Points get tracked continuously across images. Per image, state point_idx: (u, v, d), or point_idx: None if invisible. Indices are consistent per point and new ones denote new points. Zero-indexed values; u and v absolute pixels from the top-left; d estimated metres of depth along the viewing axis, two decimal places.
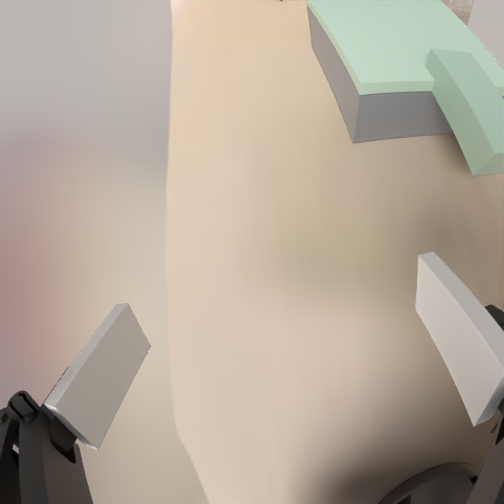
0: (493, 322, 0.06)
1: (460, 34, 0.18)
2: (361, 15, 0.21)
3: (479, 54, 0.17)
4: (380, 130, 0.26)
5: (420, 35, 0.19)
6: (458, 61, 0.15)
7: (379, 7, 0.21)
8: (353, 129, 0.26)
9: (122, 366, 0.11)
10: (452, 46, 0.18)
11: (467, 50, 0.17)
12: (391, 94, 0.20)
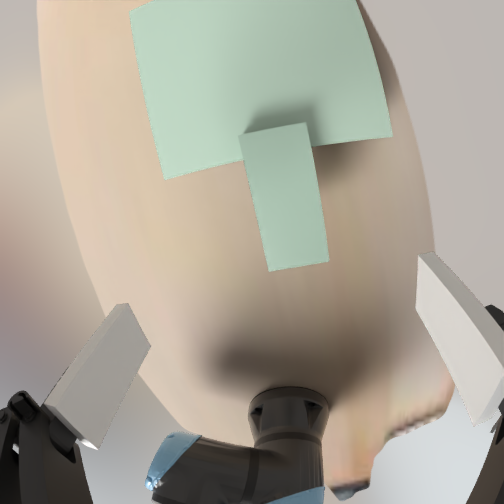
0: (493, 322, 0.06)
1: (336, 43, 0.18)
2: (185, 45, 0.19)
3: (352, 82, 0.19)
4: None
5: (258, 68, 0.19)
6: (272, 151, 0.20)
7: (216, 15, 0.18)
8: None
9: (122, 366, 0.11)
10: (305, 78, 0.19)
11: (330, 79, 0.19)
12: None
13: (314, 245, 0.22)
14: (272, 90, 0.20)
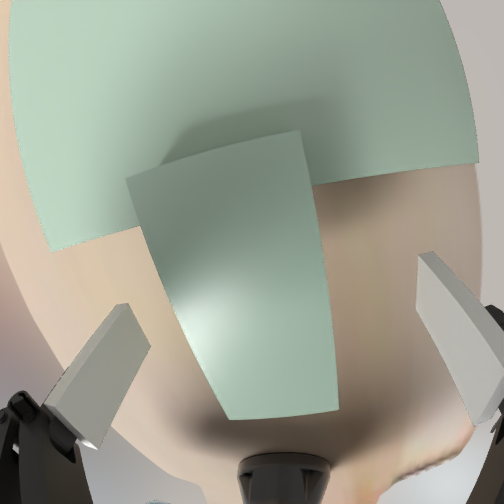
0: (493, 322, 0.06)
1: None
2: (67, 9, 0.07)
3: (401, 40, 0.07)
4: None
5: (189, 16, 0.07)
6: (210, 213, 0.08)
7: None
8: None
9: (122, 366, 0.11)
10: (296, 26, 0.07)
11: (355, 30, 0.07)
12: None
13: (312, 393, 0.10)
14: (220, 57, 0.08)
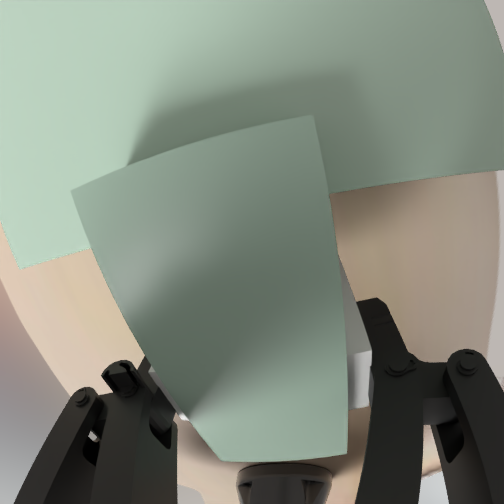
0: (358, 312, 0.08)
1: None
2: None
3: (434, 13, 0.04)
4: None
5: None
6: (181, 240, 0.05)
7: None
8: None
9: None
10: None
11: None
12: None
13: (318, 441, 0.08)
14: (202, 26, 0.06)
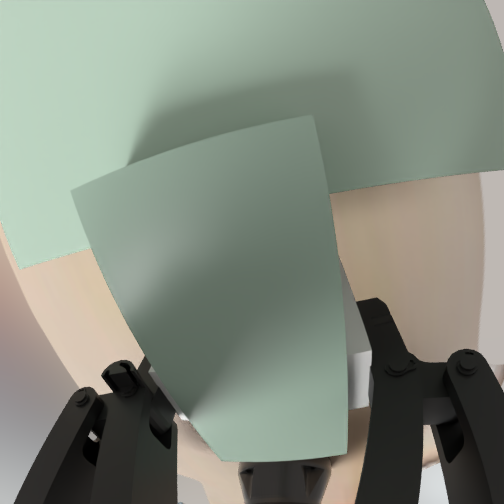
0: (358, 312, 0.08)
1: None
2: None
3: (434, 13, 0.04)
4: None
5: None
6: (181, 241, 0.05)
7: None
8: None
9: None
10: None
11: None
12: None
13: (318, 441, 0.08)
14: (202, 26, 0.05)
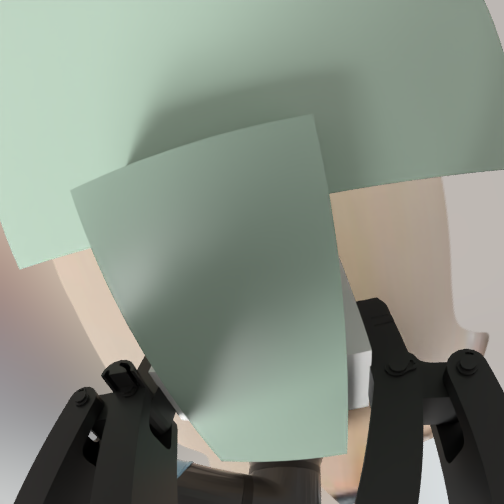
0: (358, 312, 0.08)
1: None
2: None
3: (434, 13, 0.04)
4: None
5: None
6: (181, 240, 0.05)
7: None
8: None
9: None
10: None
11: None
12: None
13: (317, 441, 0.08)
14: (202, 26, 0.05)
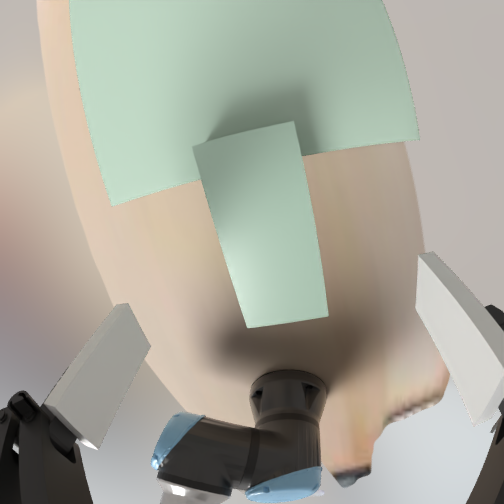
0: (492, 322, 0.06)
1: (337, 8, 0.11)
2: (129, 27, 0.12)
3: (361, 62, 0.12)
4: None
5: (225, 46, 0.13)
6: (243, 167, 0.13)
7: None
8: None
9: (122, 366, 0.11)
10: (293, 56, 0.13)
11: (331, 57, 0.12)
12: None
13: (308, 297, 0.16)
14: (245, 75, 0.13)
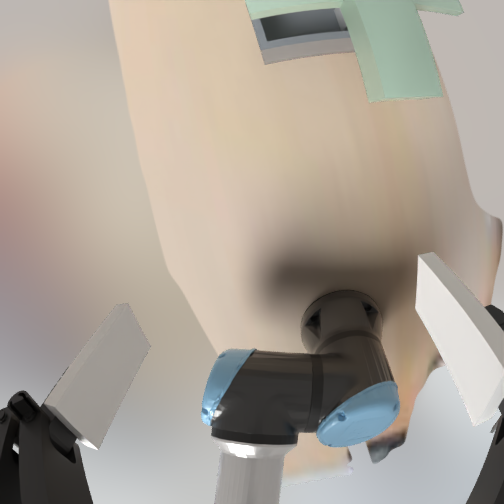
0: (493, 322, 0.06)
1: None
2: None
3: None
4: (286, 57, 0.31)
5: None
6: None
7: None
8: None
9: (122, 366, 0.11)
10: None
11: None
12: (287, 45, 0.26)
13: (427, 76, 0.14)
14: None
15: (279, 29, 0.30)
